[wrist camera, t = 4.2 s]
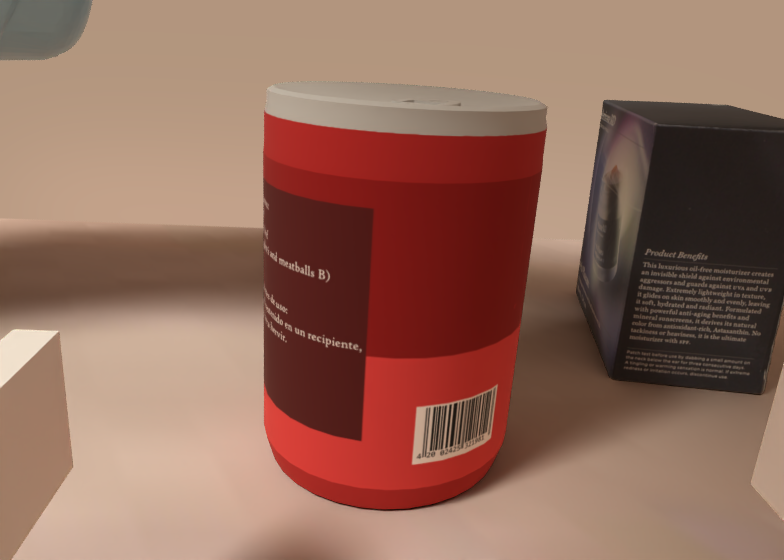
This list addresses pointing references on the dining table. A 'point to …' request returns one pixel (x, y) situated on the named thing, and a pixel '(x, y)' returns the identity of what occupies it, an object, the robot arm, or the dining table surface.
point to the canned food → (394, 283)
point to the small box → (685, 244)
